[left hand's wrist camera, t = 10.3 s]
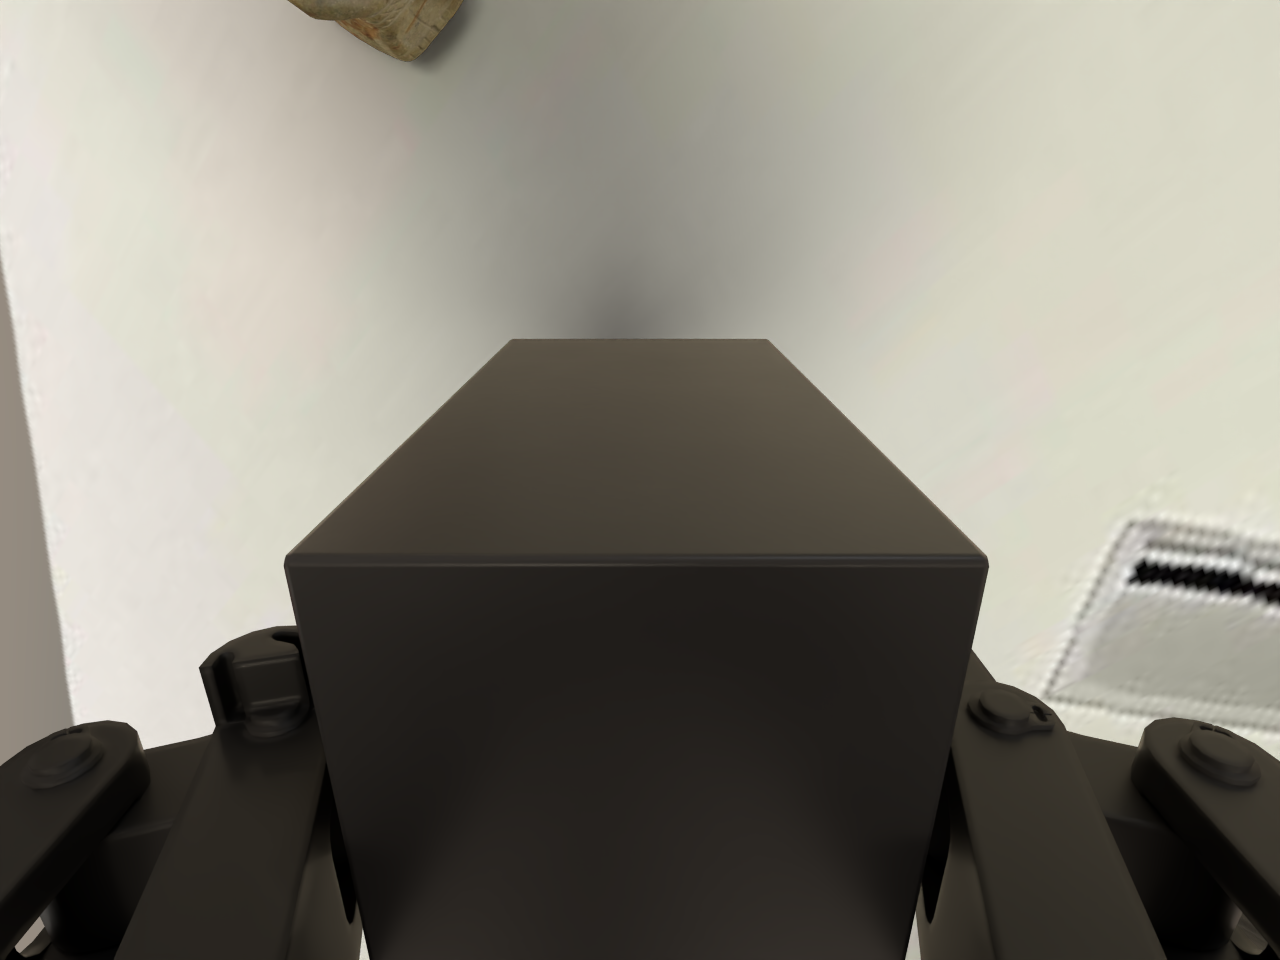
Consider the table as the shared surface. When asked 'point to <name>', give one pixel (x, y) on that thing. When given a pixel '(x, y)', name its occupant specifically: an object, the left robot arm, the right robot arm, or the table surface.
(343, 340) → the table surface
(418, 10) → the sculpture
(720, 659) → the bar
